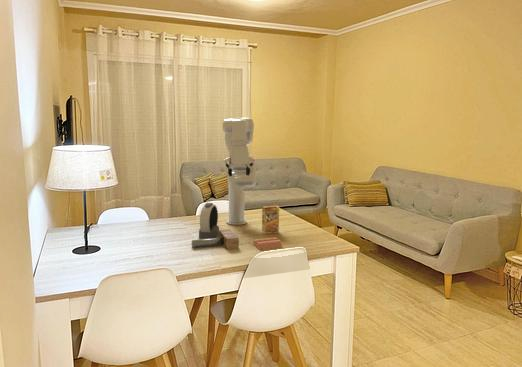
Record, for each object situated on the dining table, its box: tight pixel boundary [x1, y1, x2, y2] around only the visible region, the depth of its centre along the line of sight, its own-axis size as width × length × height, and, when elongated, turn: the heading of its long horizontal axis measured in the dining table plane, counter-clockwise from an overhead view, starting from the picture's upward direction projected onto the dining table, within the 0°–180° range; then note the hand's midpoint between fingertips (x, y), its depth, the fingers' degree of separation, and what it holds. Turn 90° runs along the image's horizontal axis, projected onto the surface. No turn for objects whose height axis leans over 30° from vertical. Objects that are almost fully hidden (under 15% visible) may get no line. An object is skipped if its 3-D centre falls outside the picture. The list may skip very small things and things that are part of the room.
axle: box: [191, 237, 224, 249], centre depth 202 cm, size 20×4×4 cm, turn 110°
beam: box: [218, 228, 240, 250], centre depth 205 cm, size 16×6×6 cm, turn 21°
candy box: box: [261, 204, 280, 235], centre depth 225 cm, size 9×4×15 cm, turn 107°
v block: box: [252, 236, 282, 251], centre depth 203 cm, size 9×12×3 cm
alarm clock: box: [198, 202, 220, 240], centre depth 217 cm, size 16×10×18 cm, turn 168°
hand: (239, 175), depth 213 cm, fingers open, 9 cm apart
